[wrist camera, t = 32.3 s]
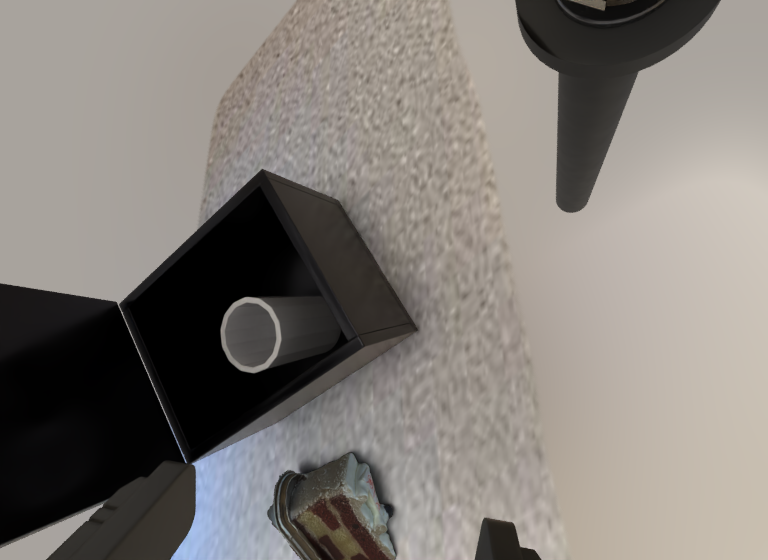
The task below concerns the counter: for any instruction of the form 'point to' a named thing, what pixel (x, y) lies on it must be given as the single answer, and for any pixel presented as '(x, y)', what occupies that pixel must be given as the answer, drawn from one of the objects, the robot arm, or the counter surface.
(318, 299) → the cup
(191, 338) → the black hollow box
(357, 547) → the checkered cake slice
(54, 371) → the black box lid
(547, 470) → the counter surface
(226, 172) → the counter surface
